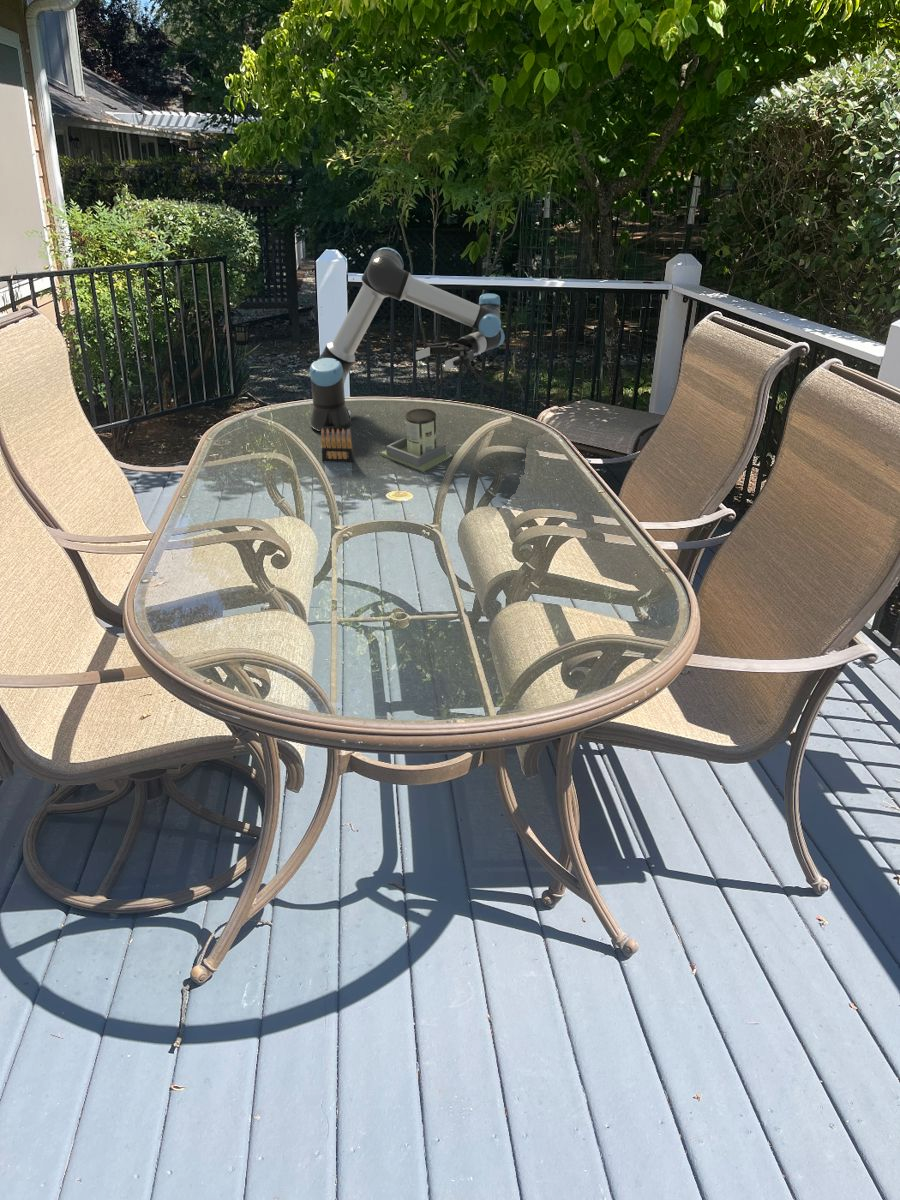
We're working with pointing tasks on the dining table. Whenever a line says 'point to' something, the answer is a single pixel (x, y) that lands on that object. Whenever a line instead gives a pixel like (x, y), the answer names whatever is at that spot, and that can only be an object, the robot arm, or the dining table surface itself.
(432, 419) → the coffee can
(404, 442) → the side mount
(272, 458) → the dining table surface
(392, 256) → the robot arm
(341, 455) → the ammunition clip
